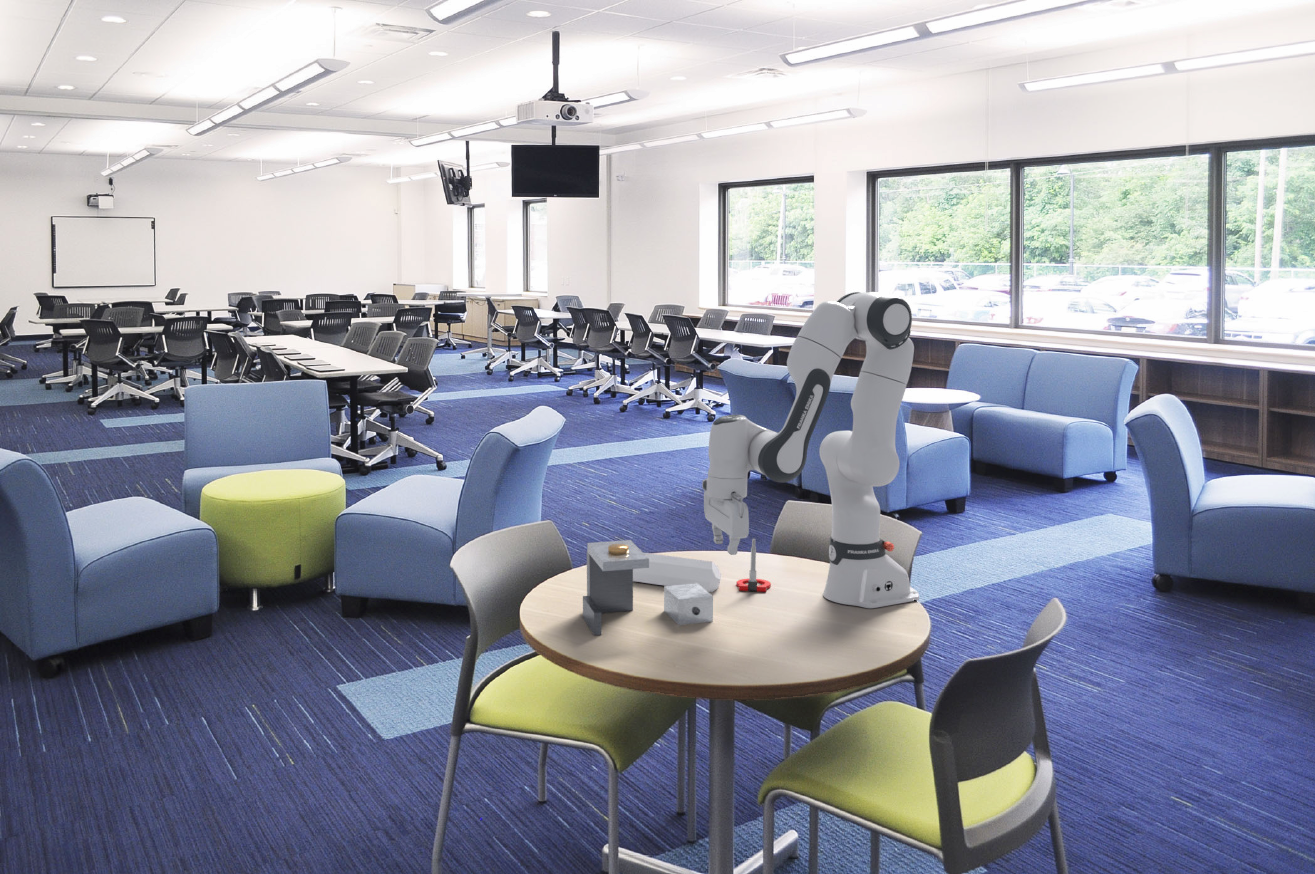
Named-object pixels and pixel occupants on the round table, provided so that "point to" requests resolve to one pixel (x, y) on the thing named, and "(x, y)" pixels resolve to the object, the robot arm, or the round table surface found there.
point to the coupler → (610, 579)
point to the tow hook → (753, 576)
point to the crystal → (678, 572)
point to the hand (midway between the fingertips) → (725, 548)
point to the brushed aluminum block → (688, 604)
